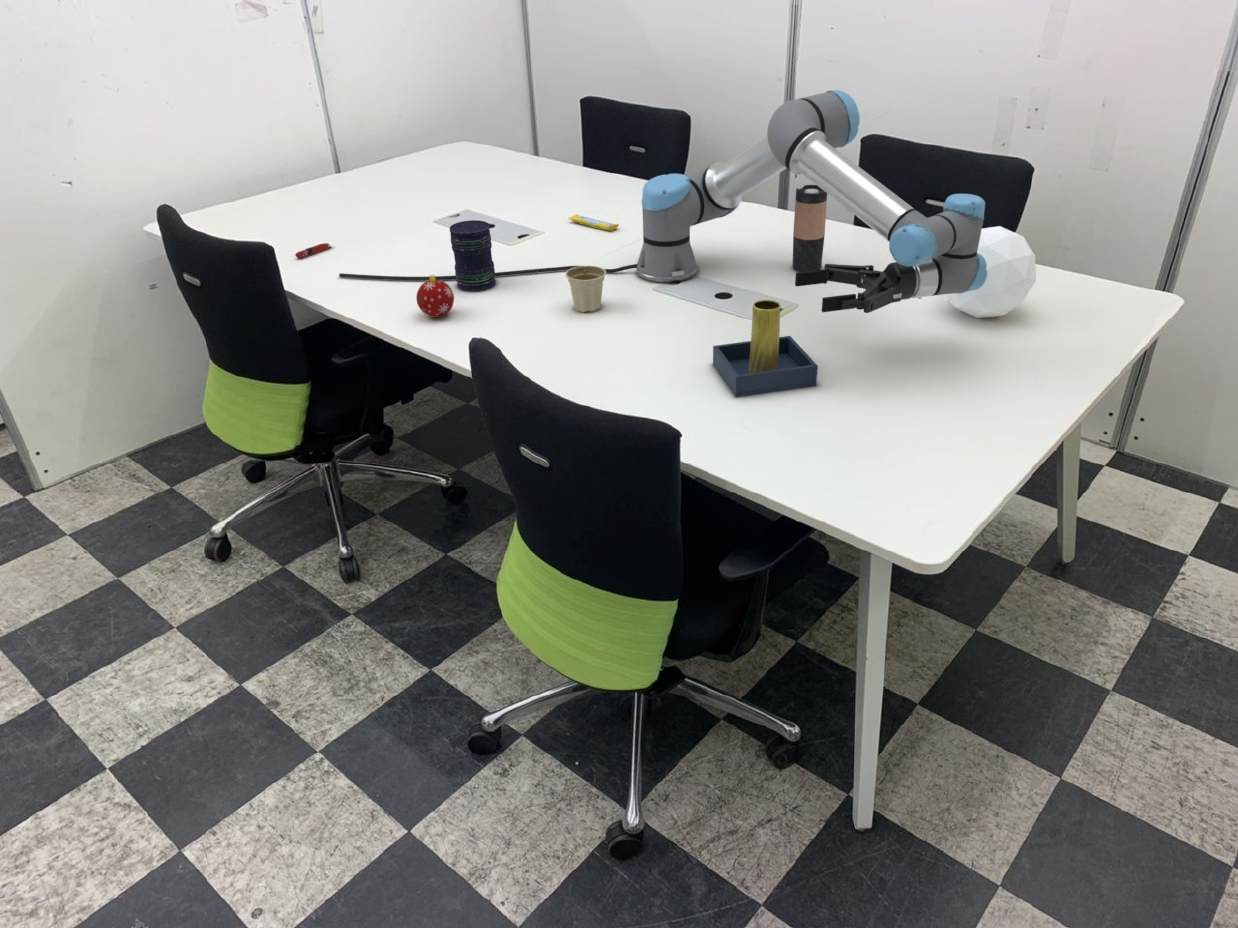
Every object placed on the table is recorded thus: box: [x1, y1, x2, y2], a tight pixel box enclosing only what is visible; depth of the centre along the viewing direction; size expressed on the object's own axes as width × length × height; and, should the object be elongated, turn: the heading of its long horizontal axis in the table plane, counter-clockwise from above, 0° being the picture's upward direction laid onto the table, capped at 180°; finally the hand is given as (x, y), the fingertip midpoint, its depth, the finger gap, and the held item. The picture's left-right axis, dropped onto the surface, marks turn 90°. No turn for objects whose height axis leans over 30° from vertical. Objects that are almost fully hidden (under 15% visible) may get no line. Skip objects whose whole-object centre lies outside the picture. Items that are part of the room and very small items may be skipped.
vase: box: [748, 299, 782, 373], centre depth 183 cm, size 6×6×14 cm
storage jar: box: [449, 219, 497, 293], centre depth 231 cm, size 10×10×15 cm
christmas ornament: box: [416, 274, 455, 318], centre depth 216 cm, size 9×9×10 cm
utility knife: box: [294, 242, 332, 260], centre depth 259 cm, size 12×1×2 cm, turn 143°
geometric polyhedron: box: [945, 225, 1037, 319], centre depth 204 cm, size 19×20×20 cm
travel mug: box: [792, 184, 828, 272], centre depth 231 cm, size 8×8×20 cm
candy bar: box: [568, 214, 620, 232], centre depth 270 cm, size 17×4×2 cm, turn 49°
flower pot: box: [565, 265, 607, 313], centre depth 217 cm, size 9×9×9 cm
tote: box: [712, 335, 819, 398], centre depth 186 cm, size 17×15×4 cm
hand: (808, 292), depth 183 cm, fingers open, 13 cm apart
